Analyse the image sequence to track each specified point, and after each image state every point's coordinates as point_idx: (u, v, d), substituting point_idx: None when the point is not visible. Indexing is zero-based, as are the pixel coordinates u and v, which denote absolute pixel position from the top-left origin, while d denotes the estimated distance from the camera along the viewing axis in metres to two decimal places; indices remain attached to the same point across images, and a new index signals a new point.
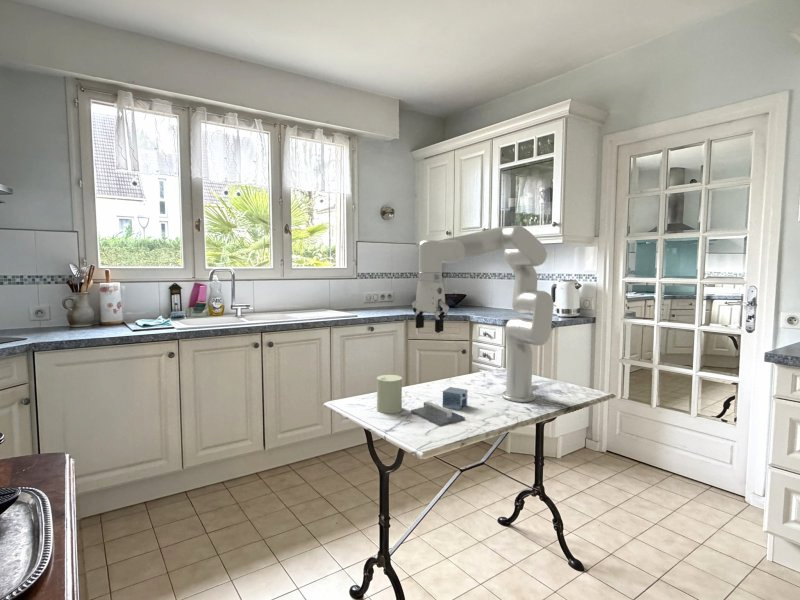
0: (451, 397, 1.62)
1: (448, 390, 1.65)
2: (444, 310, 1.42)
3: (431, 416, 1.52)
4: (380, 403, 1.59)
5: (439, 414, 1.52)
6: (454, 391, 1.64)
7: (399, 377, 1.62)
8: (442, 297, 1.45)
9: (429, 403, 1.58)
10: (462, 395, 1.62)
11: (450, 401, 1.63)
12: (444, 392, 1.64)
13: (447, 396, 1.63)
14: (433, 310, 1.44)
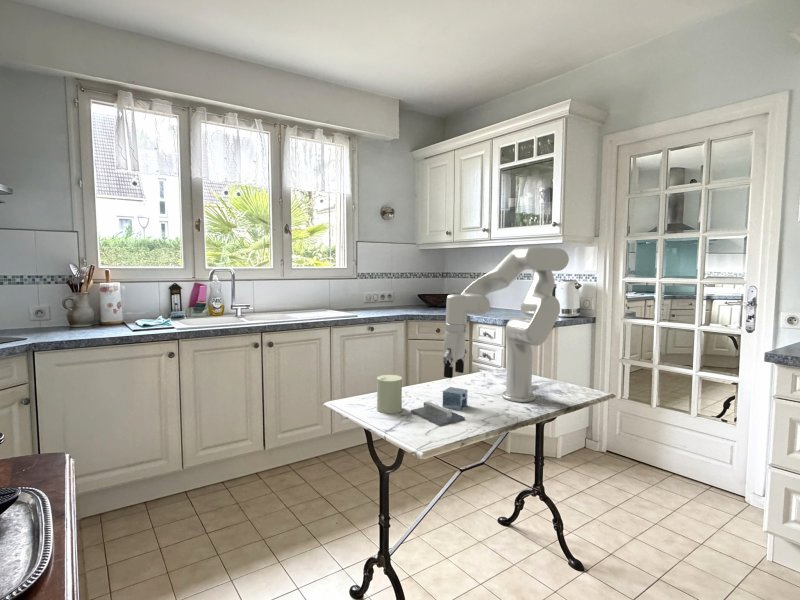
0: (451, 397, 1.62)
1: (448, 390, 1.65)
2: None
3: (431, 416, 1.52)
4: (380, 403, 1.59)
5: (439, 414, 1.52)
6: (454, 391, 1.64)
7: (399, 377, 1.62)
8: None
9: (429, 403, 1.58)
10: (462, 395, 1.62)
11: (450, 401, 1.63)
12: (444, 392, 1.64)
13: (447, 396, 1.63)
14: (464, 355, 1.66)
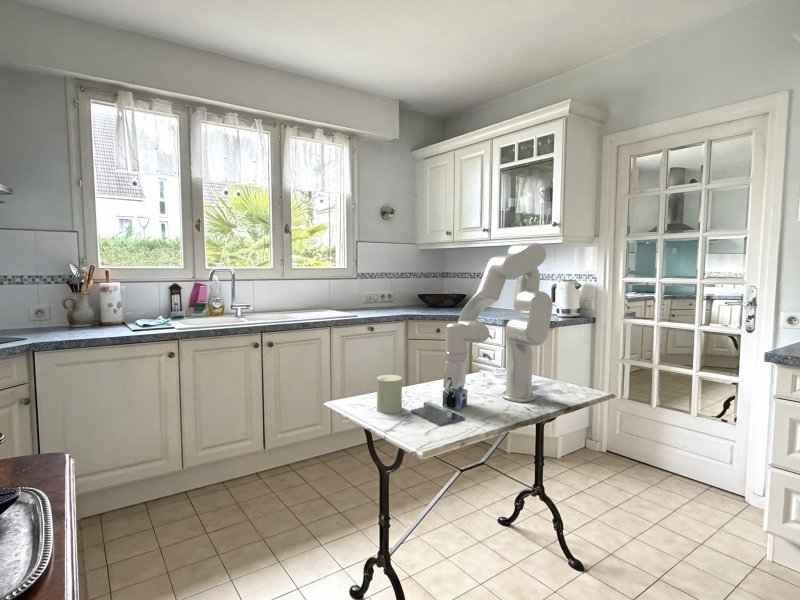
0: None
1: None
2: None
3: (431, 416, 1.52)
4: (380, 403, 1.59)
5: (439, 414, 1.52)
6: None
7: (399, 377, 1.62)
8: None
9: (429, 403, 1.58)
10: (462, 395, 1.62)
11: None
12: (444, 392, 1.64)
13: None
14: (464, 382, 1.67)
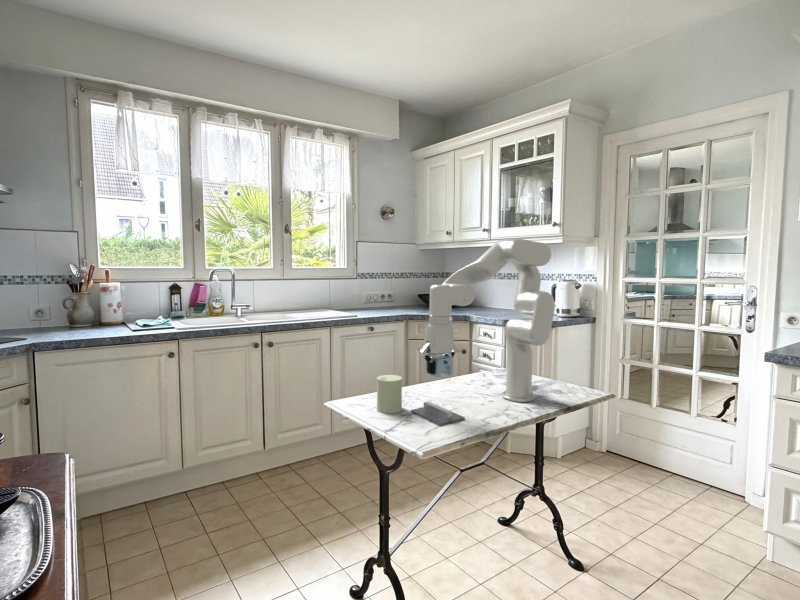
0: None
1: None
2: (455, 351, 1.58)
3: (431, 416, 1.52)
4: (380, 403, 1.59)
5: (439, 414, 1.52)
6: (437, 356, 1.54)
7: (399, 377, 1.62)
8: None
9: (429, 403, 1.58)
10: (442, 361, 1.51)
11: None
12: None
13: None
14: (452, 350, 1.55)
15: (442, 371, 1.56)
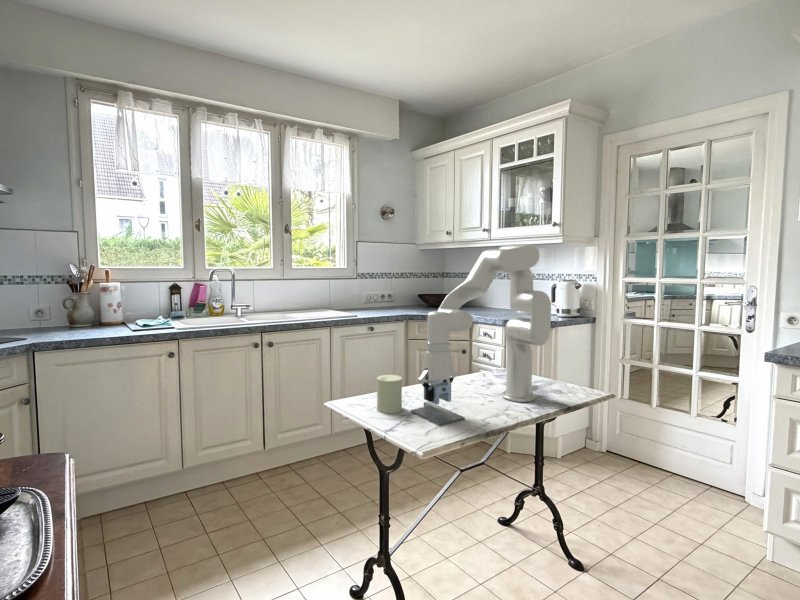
0: None
1: None
2: (453, 376, 1.57)
3: (431, 416, 1.52)
4: (380, 403, 1.59)
5: (439, 414, 1.52)
6: (436, 383, 1.54)
7: (399, 377, 1.62)
8: None
9: (429, 403, 1.58)
10: (440, 388, 1.51)
11: None
12: None
13: None
14: (450, 376, 1.55)
15: (441, 397, 1.56)
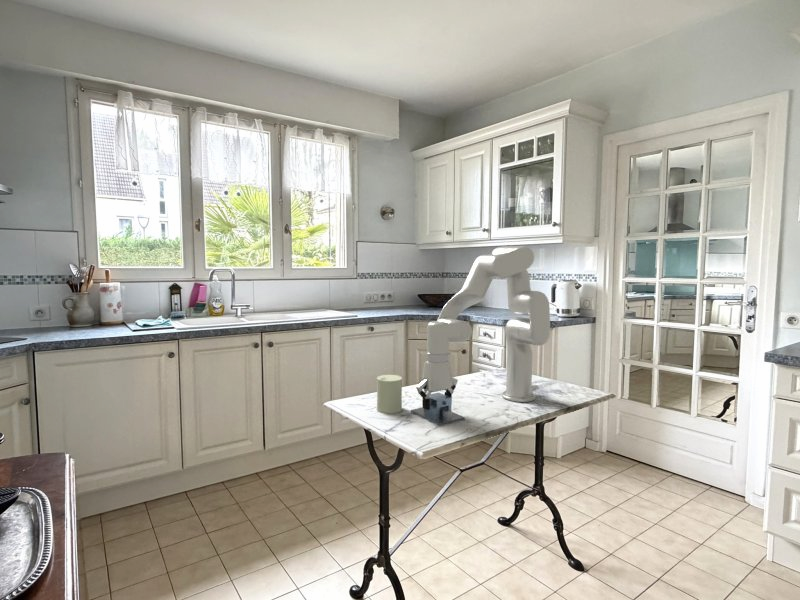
0: (430, 403, 1.53)
1: (430, 395, 1.56)
2: (455, 383, 1.58)
3: (431, 416, 1.52)
4: (380, 403, 1.59)
5: (439, 414, 1.52)
6: (436, 396, 1.54)
7: (399, 377, 1.62)
8: None
9: None
10: (440, 402, 1.51)
11: None
12: None
13: None
14: (450, 386, 1.55)
15: None
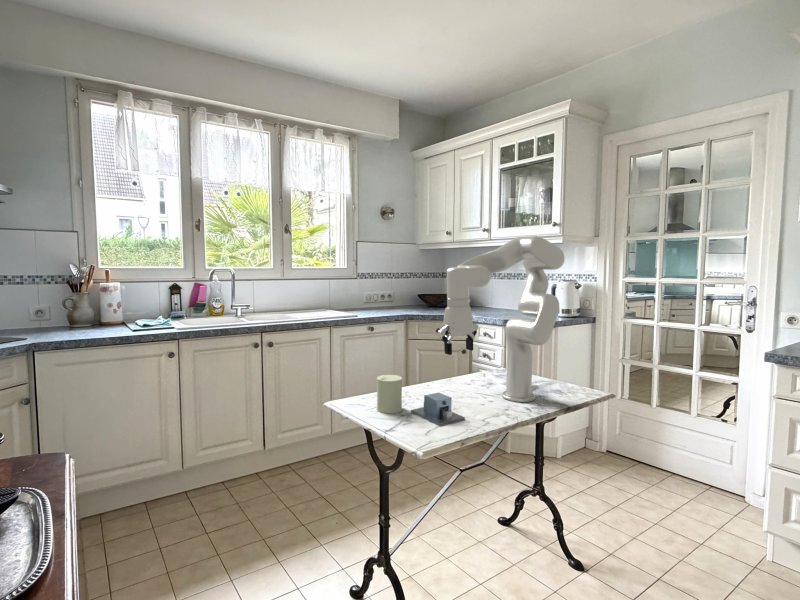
0: (430, 403, 1.53)
1: (430, 395, 1.56)
2: (476, 329, 1.59)
3: (431, 416, 1.52)
4: (380, 403, 1.59)
5: (439, 414, 1.52)
6: (436, 396, 1.54)
7: (399, 377, 1.62)
8: None
9: None
10: (440, 402, 1.51)
11: (429, 407, 1.54)
12: (425, 397, 1.55)
13: (427, 401, 1.54)
14: (471, 331, 1.56)
15: None
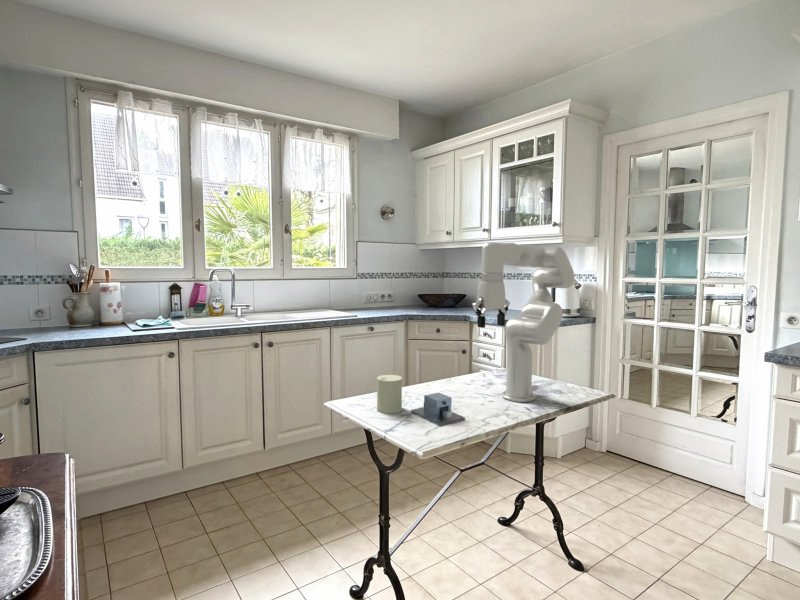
0: (430, 403, 1.53)
1: (430, 395, 1.56)
2: (508, 305, 1.63)
3: (431, 416, 1.52)
4: (380, 403, 1.59)
5: (439, 414, 1.52)
6: (436, 396, 1.54)
7: (399, 377, 1.62)
8: None
9: None
10: (440, 402, 1.51)
11: (429, 407, 1.54)
12: (425, 397, 1.55)
13: (427, 401, 1.54)
14: (504, 306, 1.60)
15: None
